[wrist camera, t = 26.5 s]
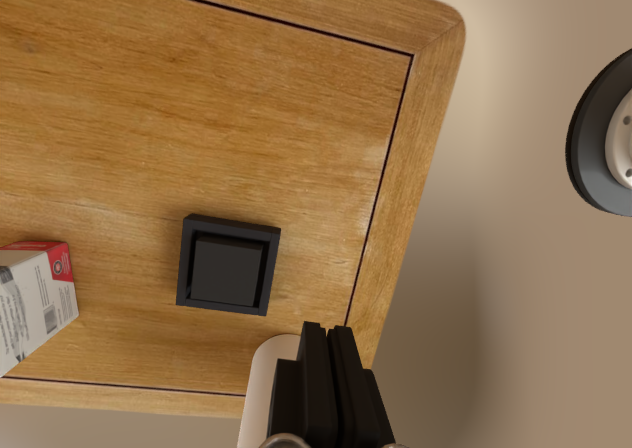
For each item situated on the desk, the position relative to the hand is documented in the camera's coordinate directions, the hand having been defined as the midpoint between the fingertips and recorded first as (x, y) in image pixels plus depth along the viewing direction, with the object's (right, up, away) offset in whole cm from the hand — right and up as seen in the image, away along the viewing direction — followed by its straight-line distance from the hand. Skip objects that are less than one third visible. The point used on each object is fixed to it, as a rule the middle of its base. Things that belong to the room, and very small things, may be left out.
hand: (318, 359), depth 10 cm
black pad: (-9, +1, +20) cm, 22 cm away
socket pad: (-9, +1, +21) cm, 23 cm away
